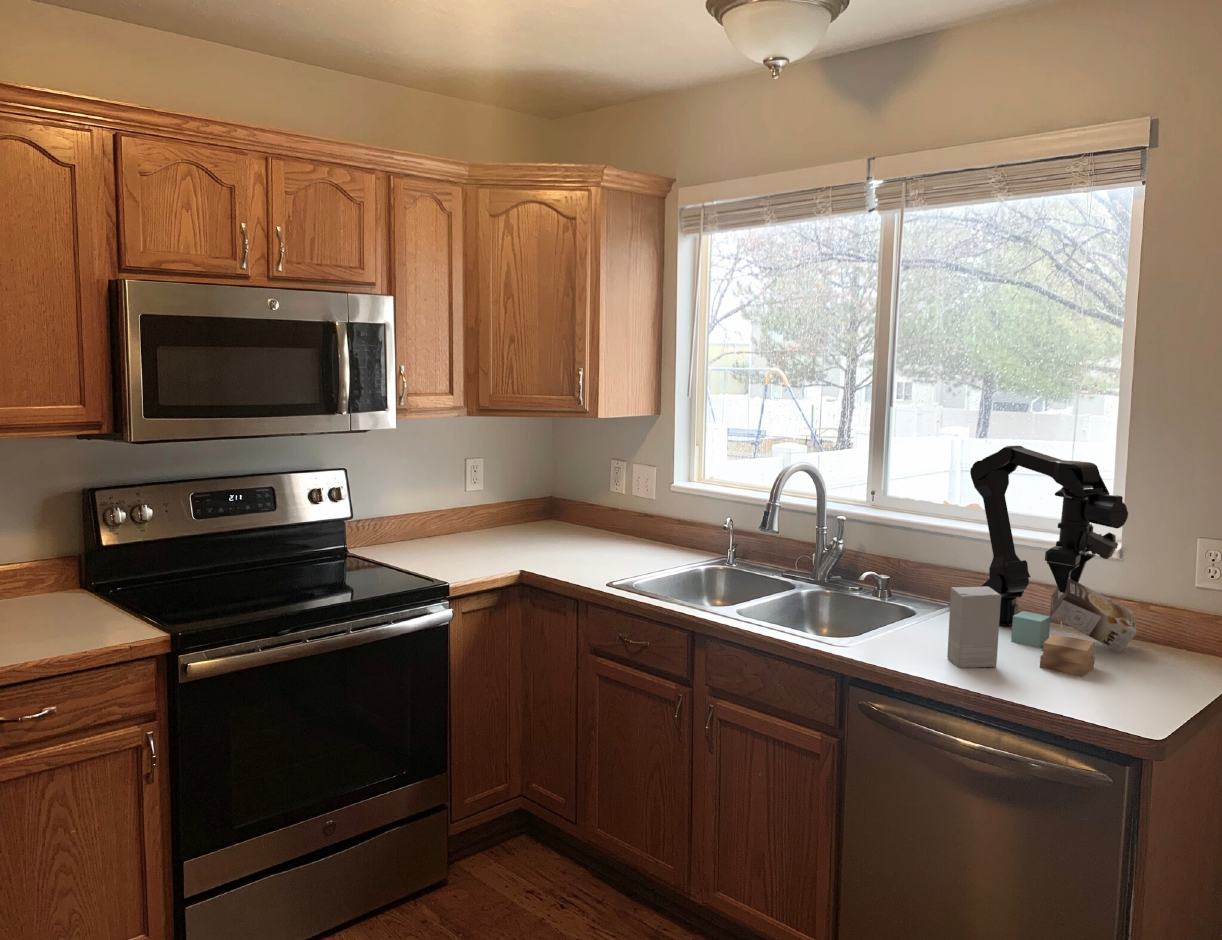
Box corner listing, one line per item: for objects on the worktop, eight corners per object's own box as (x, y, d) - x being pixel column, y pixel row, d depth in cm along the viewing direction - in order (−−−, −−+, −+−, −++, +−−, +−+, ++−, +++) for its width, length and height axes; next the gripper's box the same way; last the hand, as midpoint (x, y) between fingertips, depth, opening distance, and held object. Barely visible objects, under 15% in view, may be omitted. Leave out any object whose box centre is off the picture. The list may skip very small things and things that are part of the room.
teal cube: (1011, 642, 211) (1013, 615, 210) (1020, 636, 215) (1023, 610, 214) (1038, 648, 207) (1040, 621, 206) (1048, 642, 211) (1050, 616, 210)
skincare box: (983, 658, 199) (989, 585, 197) (998, 669, 192) (1004, 593, 190) (944, 658, 198) (949, 584, 196) (957, 669, 191) (962, 593, 189)
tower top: (1042, 657, 192) (1043, 642, 192) (1051, 647, 199) (1052, 633, 198) (1085, 665, 188) (1086, 650, 187) (1093, 655, 194) (1094, 641, 194)
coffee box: (1138, 632, 201) (1066, 595, 204) (1120, 653, 204) (1049, 616, 207) (1134, 611, 208) (1065, 575, 212) (1117, 631, 212) (1049, 596, 215)
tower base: (1039, 669, 193) (1040, 655, 193) (1053, 661, 199) (1054, 647, 199) (1080, 679, 188) (1082, 665, 188) (1093, 670, 194) (1095, 656, 193)
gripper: (1104, 531, 194) (1096, 604, 196) (1126, 519, 208) (1119, 588, 210) (1047, 522, 201) (1040, 593, 203) (1072, 512, 215) (1066, 578, 217)
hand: (1068, 588), depth 208 cm, fingers open, 9 cm apart
